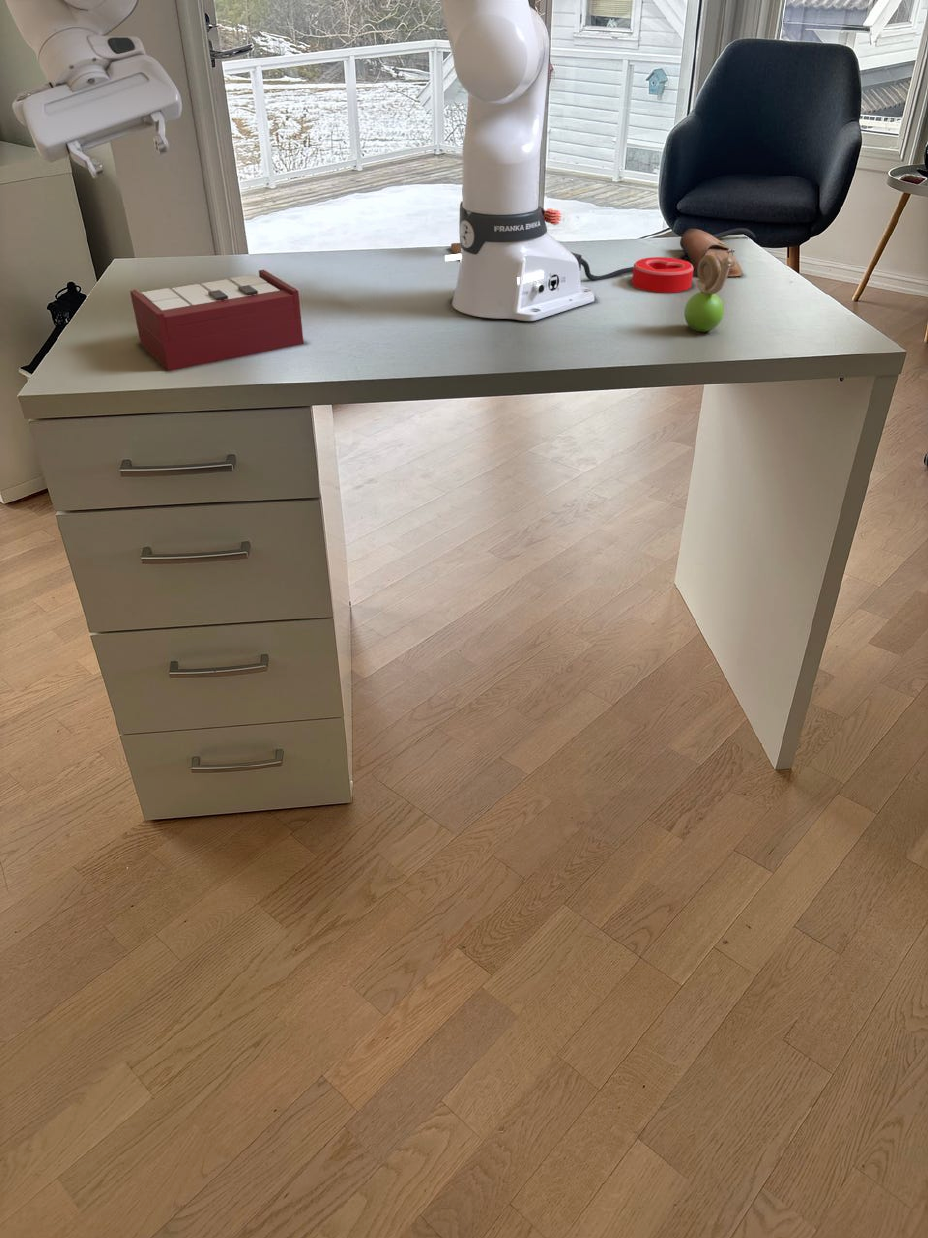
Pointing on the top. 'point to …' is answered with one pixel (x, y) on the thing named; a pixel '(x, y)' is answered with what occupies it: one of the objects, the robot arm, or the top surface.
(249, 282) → the c key
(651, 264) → the decorative ornament
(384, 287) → the top surface
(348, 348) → the top surface
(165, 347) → the toy piano
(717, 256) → the sunglasses case
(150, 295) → the f key
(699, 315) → the snail figurine
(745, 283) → the top surface
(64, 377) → the top surface
